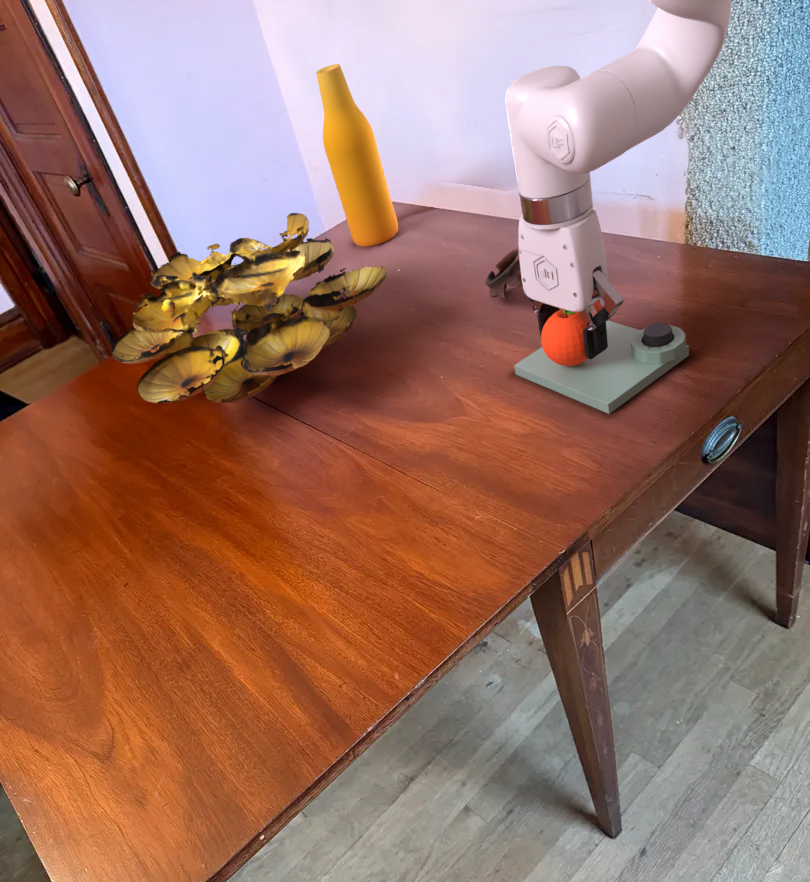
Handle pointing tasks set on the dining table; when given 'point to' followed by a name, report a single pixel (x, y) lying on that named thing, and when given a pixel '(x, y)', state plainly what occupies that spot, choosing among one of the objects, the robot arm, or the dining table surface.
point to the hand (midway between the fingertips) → (573, 344)
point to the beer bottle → (355, 162)
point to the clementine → (564, 338)
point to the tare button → (657, 335)
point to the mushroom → (240, 317)
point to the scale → (608, 368)
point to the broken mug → (504, 274)
